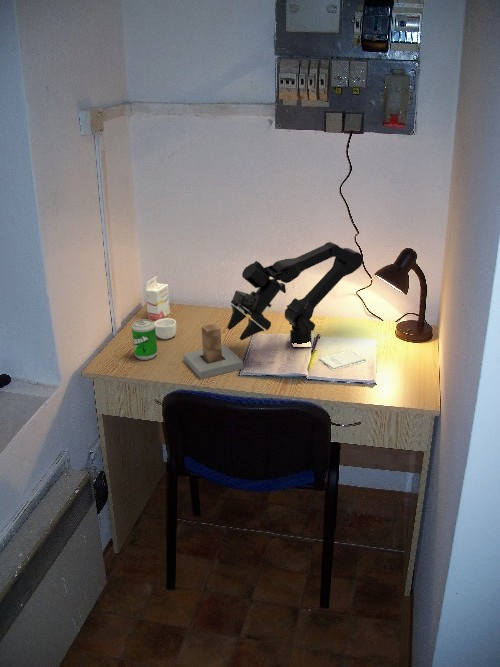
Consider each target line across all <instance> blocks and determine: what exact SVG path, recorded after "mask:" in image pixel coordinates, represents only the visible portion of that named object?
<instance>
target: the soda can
mask: <svg viewBox="0 0 500 667" xmlns="http://www.w3.org/2000/svg"><path fill="white" fill-rule="evenodd" d="M131 333H132V334H131V335H132V336H131V337H132V345H133V354H134V356H135V357H136V358H137V359H139V360H141V361H147V360H152V359H154V358H155V357H156V355H158V344H157V342H158V341H157V335H156V330H155V324H154V322H153V320H151V319H147V318H145V319H144V318H143V319H138V320H135V321H134V322H133V324H132V325H131Z"/></svg>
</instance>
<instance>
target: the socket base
mask: <svg viewBox="0 0 500 667" xmlns="http://www.w3.org/2000/svg"><path fill="white" fill-rule="evenodd" d="M221 349H222V361H218V362H213V363H209V364H207V363H206V362H205V361H204V359H203V348H202V349H198V350H193V351H190V352H189V351H188V352H184V353H183V354H182V356H183V361H184V363H185V364H186V365H187V366H188V367H189V368H190V370H192V371H193V373H194V374H195V375H196V376H197V377H198V378H199V379H200V380H204V379H207V378H211V377H215V376H220V375H224V374H228V373H233V372H236V371H240V370H243V369H244V361H243V360H242V359H241V358H240V357H238V356H237V355H236V354H235V353H234V352H233V351H232V350H231V349H230V348H229V347H227V345H225V344H221Z"/></svg>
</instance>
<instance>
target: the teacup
mask: <svg viewBox="0 0 500 667" xmlns="http://www.w3.org/2000/svg"><path fill="white" fill-rule="evenodd" d="M153 323H154V324H155V330H156V337H157V338H159V339H161V340H169V338H170V339H172V338H173V337H174V336H175V335H176V333H177V321H176V320H175V319H173V318H170V317H167V318H165V317H164V318H162V319H159V320H154V322H153Z"/></svg>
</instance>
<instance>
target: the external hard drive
mask: <svg viewBox="0 0 500 667" xmlns="http://www.w3.org/2000/svg"><path fill="white" fill-rule="evenodd" d="M319 360H320V361H322V362H323V363H325V364H326V365H325V364H324V365H325V366H327V365H328V366H329V367H331V368H332V369H336V368H339V367H343V366H346V365H349V364H354V363H358V362H361V361H365V362H366V358H365V357H363V356H362V355H360V354H358V353H357V352H356V351H354V350H352V349H348V350H345V351H342V352H338V353H335V354H330V355H327V356H323V357H320V358H318V361H319ZM320 361H319V362H320ZM322 362H321V363H322ZM323 363H322V364H323ZM329 367H328V368H329Z"/></svg>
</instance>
